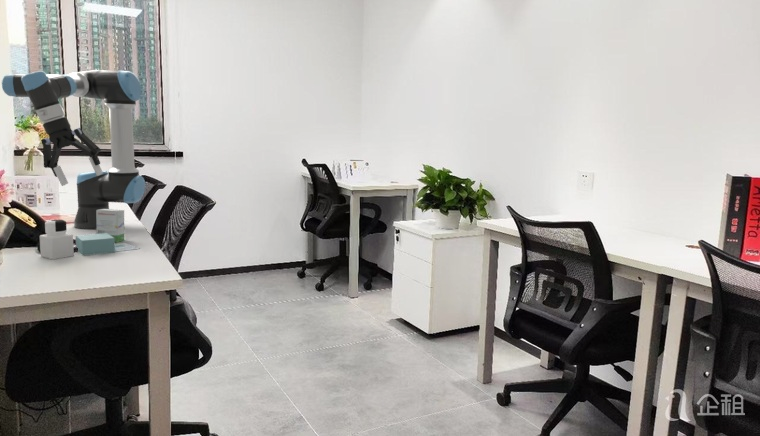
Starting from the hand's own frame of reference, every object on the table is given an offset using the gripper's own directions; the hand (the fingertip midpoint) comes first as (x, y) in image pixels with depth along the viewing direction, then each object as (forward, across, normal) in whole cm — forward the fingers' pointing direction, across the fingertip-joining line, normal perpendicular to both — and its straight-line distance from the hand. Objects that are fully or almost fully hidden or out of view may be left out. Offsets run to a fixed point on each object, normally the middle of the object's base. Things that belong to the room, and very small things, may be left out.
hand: (82, 179), depth 192 cm
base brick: (+24, -3, -6) cm, 25 cm away
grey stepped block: (+20, -10, -15) cm, 27 cm away
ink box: (+26, -9, +12) cm, 30 cm away
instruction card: (+27, +1, +2) cm, 27 cm away
